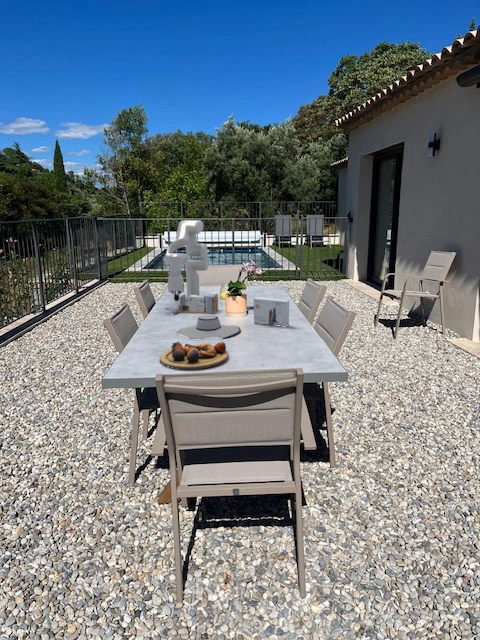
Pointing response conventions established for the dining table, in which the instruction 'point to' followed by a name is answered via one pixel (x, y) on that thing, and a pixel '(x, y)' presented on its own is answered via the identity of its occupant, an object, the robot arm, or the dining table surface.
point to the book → (209, 303)
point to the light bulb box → (197, 303)
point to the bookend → (182, 304)
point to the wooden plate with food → (194, 356)
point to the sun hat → (209, 329)
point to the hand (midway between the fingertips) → (176, 300)
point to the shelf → (214, 309)
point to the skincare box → (271, 311)
